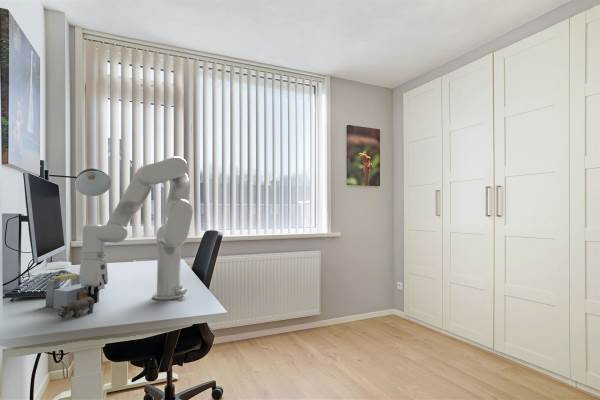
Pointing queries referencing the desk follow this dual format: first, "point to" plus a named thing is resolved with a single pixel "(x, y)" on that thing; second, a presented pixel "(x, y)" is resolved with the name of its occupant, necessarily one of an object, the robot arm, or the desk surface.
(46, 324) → the desk surface
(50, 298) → the yoke
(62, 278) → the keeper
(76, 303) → the rhino figurine
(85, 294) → the brown wooden box
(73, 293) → the block
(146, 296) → the desk surface
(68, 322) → the desk surface
